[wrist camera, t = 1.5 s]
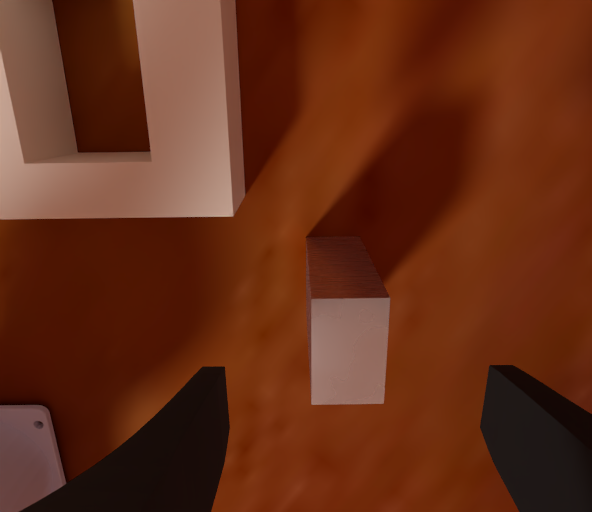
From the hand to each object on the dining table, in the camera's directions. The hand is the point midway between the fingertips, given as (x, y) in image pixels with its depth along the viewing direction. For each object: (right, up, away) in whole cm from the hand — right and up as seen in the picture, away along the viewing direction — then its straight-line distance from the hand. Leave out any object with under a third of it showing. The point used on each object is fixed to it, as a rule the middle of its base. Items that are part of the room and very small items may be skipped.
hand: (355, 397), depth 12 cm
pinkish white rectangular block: (0, +3, +9) cm, 10 cm away
